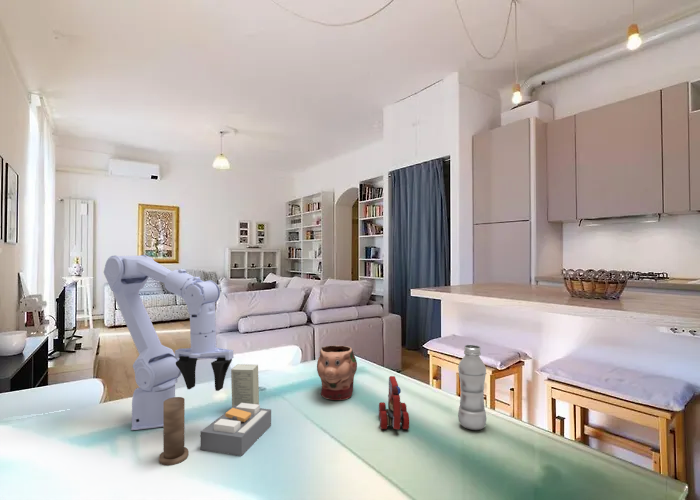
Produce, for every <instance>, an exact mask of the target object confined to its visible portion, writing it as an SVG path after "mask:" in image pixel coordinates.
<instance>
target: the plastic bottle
mask: <svg viewBox="0 0 700 500" xmlns="http://www.w3.org/2000/svg"><path fill="white" fill-rule="evenodd" d="M463 350H464V351H463V354H464V356H463V357H462V359H461V360H460V361H459V363H458V367H457V368H458V376H459V383H460V384H459V386H460V396H459V397H460V398H459V407H458V414H457V417H458V422H459V423H460V425H461V426H462V427H463V428H465V429H467V430H471V431H472V430H473V431H481V430H483V429H484V428H485V426H486V425H487V412H486V409H485V398H484V393H485V392H484V390H485V381H486V376H487V375H486V373H487V367H486V365H485V363H484V361H483V359H481V358H482V357H480V356H481V346H479V345H475V344H466V345H464V349H463Z"/></svg>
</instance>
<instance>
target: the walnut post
mask: <svg viewBox="0 0 700 500" xmlns="http://www.w3.org/2000/svg"><path fill="white" fill-rule="evenodd" d="M185 405H186V404H185V398H184V397H182V396H175V397H173V398H169V399H167V400H165V401H164V402H163V427H162V428H163V429H162V430H163V431H162V432H163V433H162V434H163V437H162V438H163V443H162V445H163V446H162V447H163V450H162V452H161V453H160V454H159V456H158V462H159V464H160V465H161V466H162V465H163V466H175V465H178V464H181V463H182V462H184V461H186V460H187V459H188V457H189V456H190V455H189V449H188V447H185V407H186V406H185Z"/></svg>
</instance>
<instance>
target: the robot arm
mask: <svg viewBox="0 0 700 500" xmlns="http://www.w3.org/2000/svg"><path fill="white" fill-rule="evenodd" d="M103 274H104V277H105V279H106V281H107V284H108V286H109V288H110V290H111V292H112V294H113V296H114V299H115V302H116V304H117V307H118V308H119V311H120V313H121V315H122V318H123V320H124V323H125V325H126V327H127V329H128V331H129V333H130V335H131V336H130V337H131V338H132V341H133V343H134V346H135V347H136V351H137V352H138V354H139V355H138V356H137V357H136V359H135V361H134V362H133V364H132V368H133V370H134V371H133V372H134V378H135V379H134V380H135V383H136V385H137V386H138V387H136V388H135V389H134V391H133V394H132V400H131V431H137V430H147V429H155V428H163V402H164V401H165V400H167V399H169V398H173V397H176V384H177V383H178V379H179V378H180V377H181V375H182V378H183V380H184V383H185V386H186V389H187V390H191V389H193V388H195V386H196V367H197V361H198V359H208V360H209V359H211V360H214V361H212V362H210V365H211V368H212V371H213V377H214V389H215V391H216V392H219V391H220V390H223V388H224V384H225V379H226V375H227V372H228V370H229V367H230V366H231V365H230V364H231V363H232V361H233V359H234V350H233V349H228V348H227V349H226V348H222V347H221V348H220V347H217V326H216V325H217V324H216V322H217V321H216V303H217V302H218V301H219V299H220V296H221V290H220V286H219V285H218V283H216V282H215V281H214V280H212V279H210V280H209V279H208V280H202V279H201V277H200V276H193V275H192V274H190V273H187V269H184V268H178V269H174V270H171V269H169V268H167V267H166V266H164V265H162V264H160V263H159V262H157V261H155V260H154V258H153V257H151V256H148V255H147V254H140V255H111V256H109V257H108V258H107V260H106V262H105V265H104V270H103ZM149 278H151V279H153V280H155V281H158V282H160V283H162V284H164V288H165V289H166V290H167V291H168V292H170V293H172V294H174V295H176V296H178V297H180V298H182V299H183V301H184V303H185V305H186V307H187V313H188V315H189V327H190V329H189V330H190V347H187V348H181V347H180V348H178V349H175V350H173V349H172V348H171V347H168V346H166V345H163V344H162V342H161V340H160V337H159V335H158V333H157V332H156V329H155V327H154V325H153V323H152V320H151V317H150V315H149V313H148V312H147V309H146V306H145V305H144V304H145V303H143V300H142V297H141V295H140V290H141V289H144V287H145V285H146V283H147V282H148V280H149Z"/></svg>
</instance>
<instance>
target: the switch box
mask: <svg viewBox="0 0 700 500" xmlns="http://www.w3.org/2000/svg"><path fill="white" fill-rule="evenodd" d="M232 408H235V409H239V410H243V411H246V412H250V413H251V417H250V418H248V419H247V420H246V421H245V422H242V421H239V420H238V421H234V420H232V418H229V417H225V414H226V412H228V411H229V410H230V409H232ZM230 409H228V410H227V411H226V412H224V413H223V414H222V415H220V416H219V417H217V418H216V419H214V420H213V421H212V422H211V423H210V424H209V425H207V426H206V427H205V428H203V429H202V430H200V450H201V451H204V452H205V451H206V452H213V453H219V454H224V453H225V454H227V455H231V454H232V455H233V456H237V455H241V456H240V457H242V456H244V454H246V453H247V451H248V450H249V449H250V448H251V447H252V446H253V445H254V444H255V443H256V442H257V441H258V440H260V438H261V437H262V436H263V435H264V434H265V433H266V432H267V430H269V429H270V428H271V426H272V409H270V408H261V405H260V404H259V405H257V404H249V403H241V404H239V405H235V406H234V407H232V406H231V408H230ZM263 433H264V434H263ZM262 434H263V435H262ZM261 435H262V436H261ZM260 436H261V437H260ZM259 437H260V438H259ZM257 439H258V440H257ZM225 454H224V455H225Z"/></svg>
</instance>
